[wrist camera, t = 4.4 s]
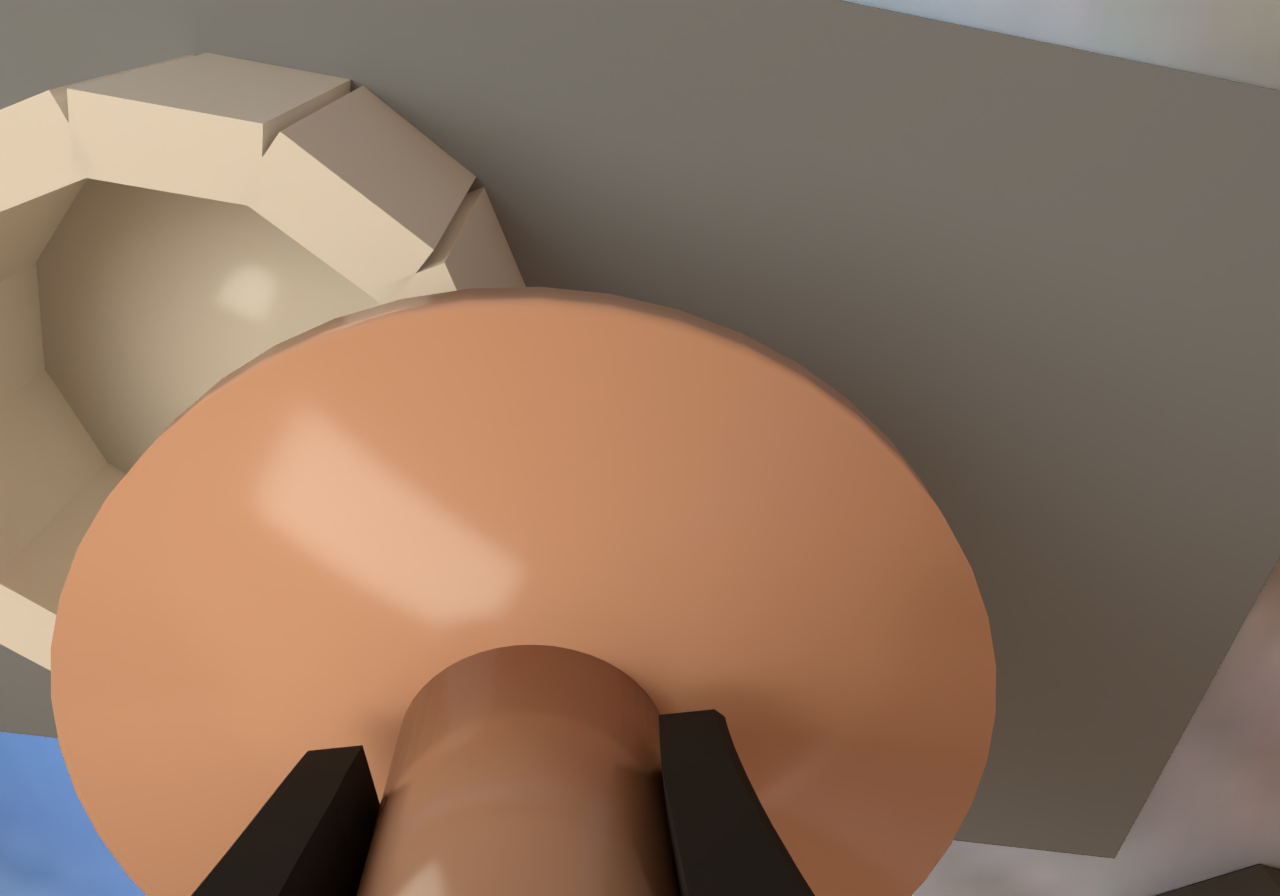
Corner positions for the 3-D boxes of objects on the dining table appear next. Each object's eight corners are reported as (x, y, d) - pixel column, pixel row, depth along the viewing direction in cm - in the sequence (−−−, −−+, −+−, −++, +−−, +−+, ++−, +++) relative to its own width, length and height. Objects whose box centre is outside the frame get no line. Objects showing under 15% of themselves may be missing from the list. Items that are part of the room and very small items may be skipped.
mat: (1485, 133, 17) (1508, 137, 17) (1105, 842, 24) (1114, 858, 24) (-285, -231, 14) (-314, -237, 14) (-113, 700, 22) (-129, 716, 21)
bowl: (564, 119, 16) (550, 175, 12) (497, 581, 20) (469, 740, 16) (-25, 9, 15) (-254, 30, 11) (25, 517, 19) (-132, 668, 15)
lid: (1157, 519, 12) (1428, 794, 8) (724, 1064, 16) (762, 1418, 12) (221, 99, 9) (-48, 201, 6) (5, 871, 14) (-231, 1234, 10)
